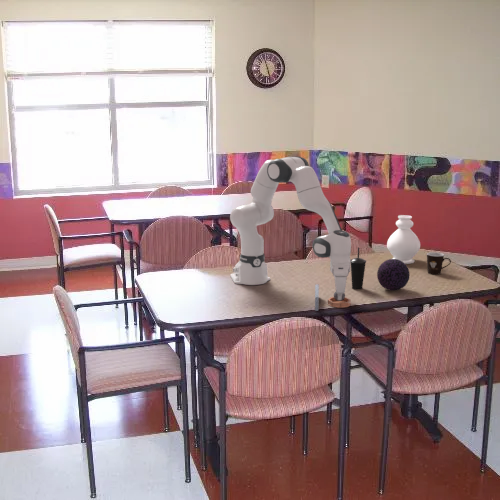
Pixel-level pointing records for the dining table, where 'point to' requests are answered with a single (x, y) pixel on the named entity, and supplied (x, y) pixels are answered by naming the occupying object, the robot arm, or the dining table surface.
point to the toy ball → (393, 274)
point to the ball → (337, 296)
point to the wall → (316, 296)
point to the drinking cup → (357, 272)
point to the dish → (339, 302)
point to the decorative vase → (404, 241)
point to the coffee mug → (435, 262)
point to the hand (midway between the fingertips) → (339, 297)
